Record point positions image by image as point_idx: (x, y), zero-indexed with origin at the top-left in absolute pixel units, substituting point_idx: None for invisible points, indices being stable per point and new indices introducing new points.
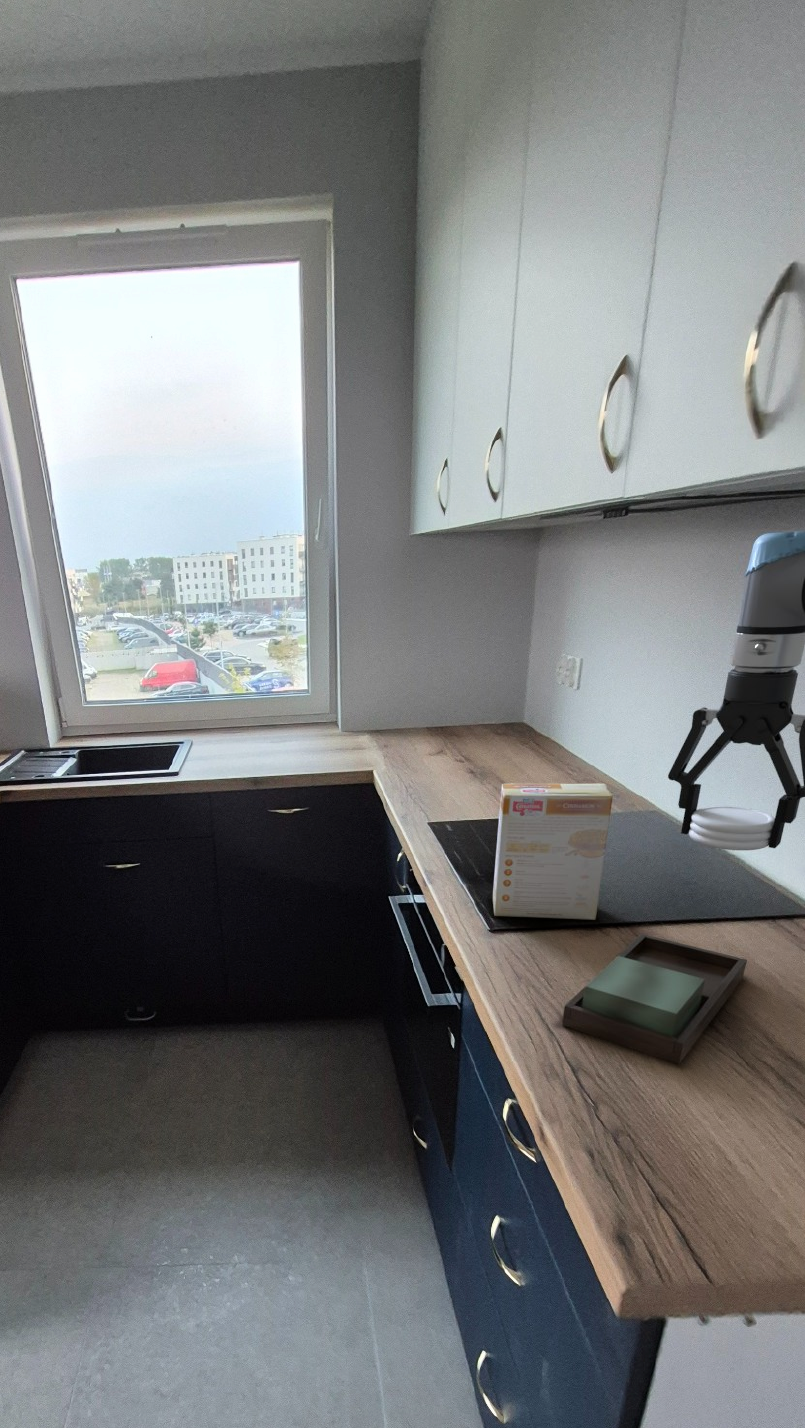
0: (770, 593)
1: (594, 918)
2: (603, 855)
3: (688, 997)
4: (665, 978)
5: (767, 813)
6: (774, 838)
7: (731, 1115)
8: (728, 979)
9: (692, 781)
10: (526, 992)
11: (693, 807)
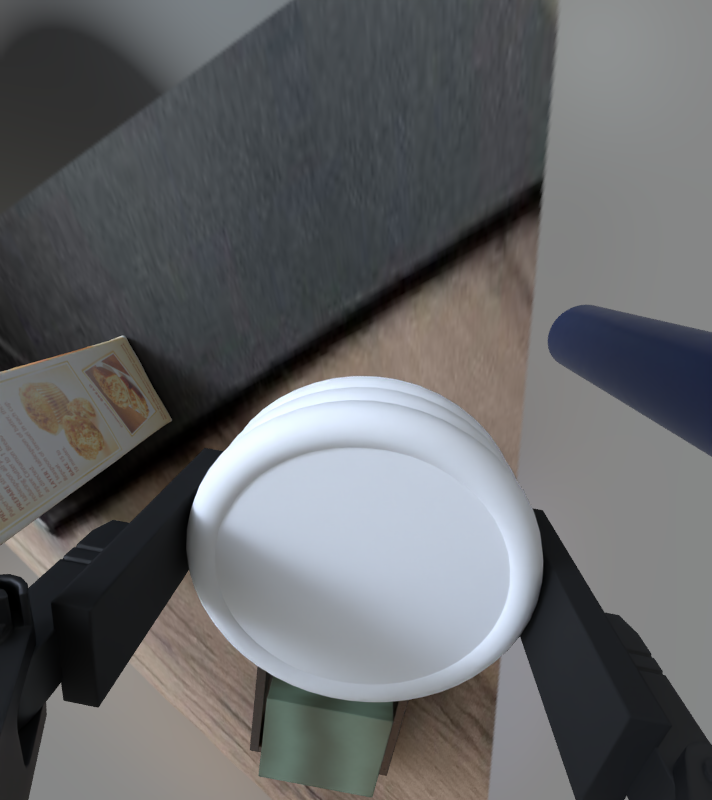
0: None
1: (169, 421)
2: (62, 498)
3: (379, 765)
4: (343, 735)
5: (510, 499)
6: None
7: (440, 789)
8: None
9: (38, 749)
10: (193, 672)
11: (169, 569)
